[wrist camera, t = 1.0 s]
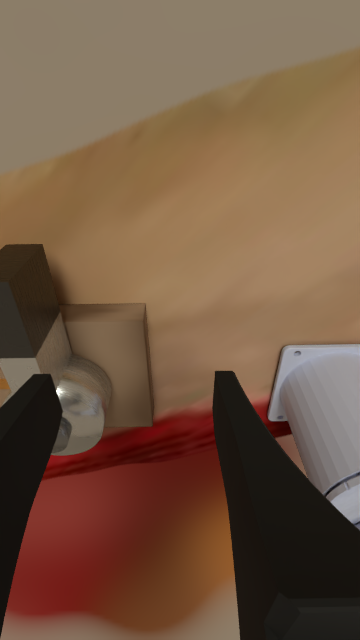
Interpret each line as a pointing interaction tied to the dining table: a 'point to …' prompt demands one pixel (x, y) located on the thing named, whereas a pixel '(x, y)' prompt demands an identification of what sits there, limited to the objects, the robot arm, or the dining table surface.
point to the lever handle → (47, 348)
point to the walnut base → (112, 357)
